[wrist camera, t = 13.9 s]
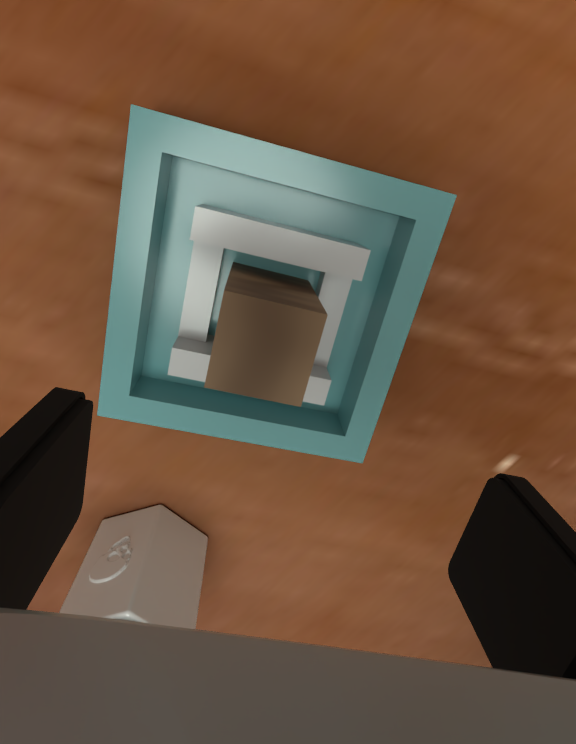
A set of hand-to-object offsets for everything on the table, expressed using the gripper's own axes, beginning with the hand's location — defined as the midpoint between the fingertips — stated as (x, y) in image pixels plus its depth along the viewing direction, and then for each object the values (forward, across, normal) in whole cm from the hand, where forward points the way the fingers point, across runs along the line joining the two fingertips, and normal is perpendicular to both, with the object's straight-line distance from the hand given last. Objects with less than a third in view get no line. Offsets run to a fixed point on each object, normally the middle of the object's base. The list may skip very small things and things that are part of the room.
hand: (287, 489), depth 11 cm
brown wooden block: (+18, +1, 0) cm, 18 cm away
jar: (+20, +5, +21) cm, 29 cm away
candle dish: (+19, +1, 0) cm, 19 cm away
